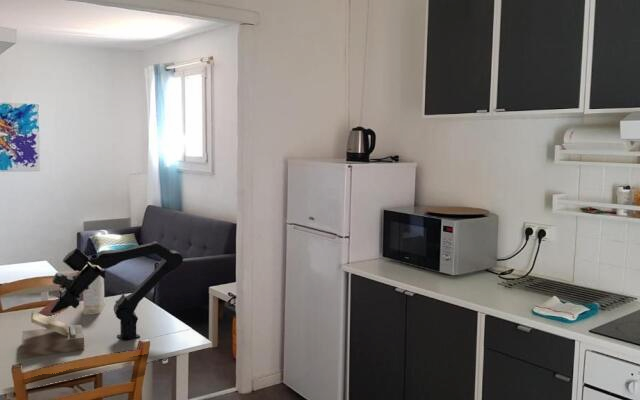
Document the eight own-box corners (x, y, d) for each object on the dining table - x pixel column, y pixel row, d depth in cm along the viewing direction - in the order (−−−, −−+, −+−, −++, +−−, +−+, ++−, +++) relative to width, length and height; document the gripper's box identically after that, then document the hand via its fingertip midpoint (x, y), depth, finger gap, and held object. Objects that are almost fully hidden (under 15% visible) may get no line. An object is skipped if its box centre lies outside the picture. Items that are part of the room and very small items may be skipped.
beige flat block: (81, 336, 214) (81, 322, 213) (84, 349, 200) (83, 334, 200) (22, 343, 205) (22, 328, 204) (21, 357, 192) (21, 342, 191)
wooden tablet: (55, 301, 261) (55, 297, 261) (78, 301, 262) (78, 297, 262) (30, 318, 235) (30, 314, 235) (55, 318, 236) (55, 314, 235)
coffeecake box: (88, 304, 254) (87, 261, 253) (105, 303, 256) (104, 261, 254) (82, 314, 240) (81, 269, 238) (100, 313, 242) (99, 268, 240)
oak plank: (66, 327, 209) (67, 324, 209) (67, 336, 200) (69, 333, 200) (31, 314, 203) (33, 311, 203) (31, 322, 194) (33, 319, 194)
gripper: (65, 259, 210) (33, 291, 206) (68, 270, 194) (32, 305, 190) (88, 278, 215) (57, 310, 211) (93, 290, 198) (59, 325, 194)
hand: (51, 312), depth 201 cm, fingers closed
